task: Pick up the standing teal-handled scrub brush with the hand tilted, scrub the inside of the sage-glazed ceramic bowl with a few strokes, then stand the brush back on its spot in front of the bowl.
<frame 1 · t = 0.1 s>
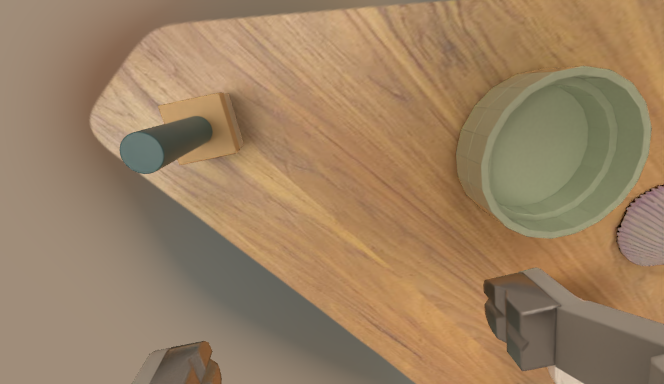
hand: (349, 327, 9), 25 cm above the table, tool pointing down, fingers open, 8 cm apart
cup: (540, 303, 41), on the table
seashell: (654, 224, 39), on the table
bowl: (523, 147, 35), on the table
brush: (211, 124, 32), on the table
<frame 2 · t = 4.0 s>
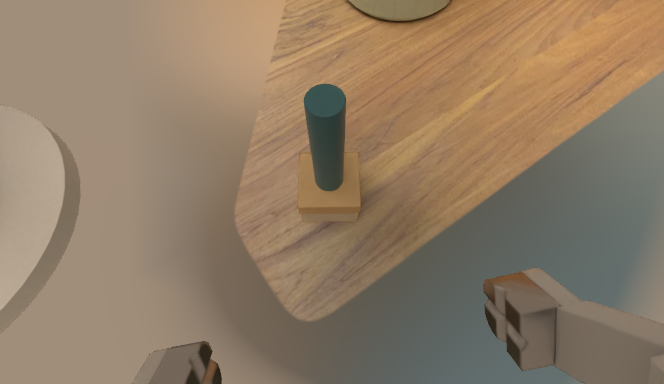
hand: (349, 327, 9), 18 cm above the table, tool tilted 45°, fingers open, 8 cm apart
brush: (330, 197, 31), on the table
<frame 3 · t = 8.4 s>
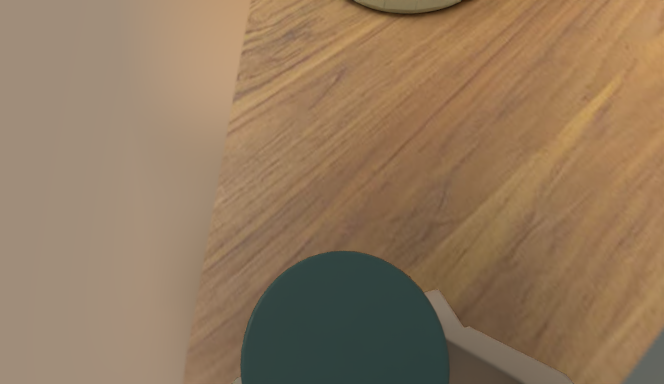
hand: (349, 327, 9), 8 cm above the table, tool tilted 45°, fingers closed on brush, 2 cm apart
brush: (359, 350, 16), on the table, touching gripper
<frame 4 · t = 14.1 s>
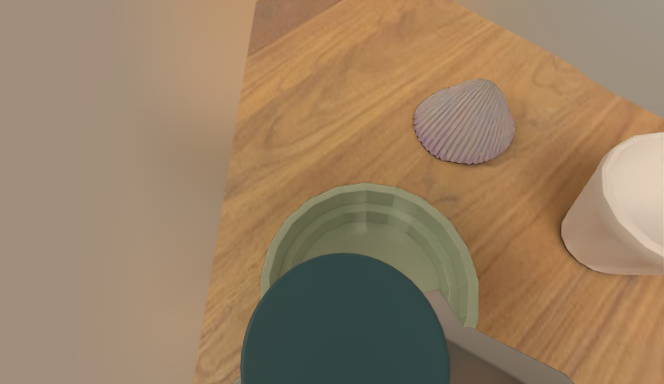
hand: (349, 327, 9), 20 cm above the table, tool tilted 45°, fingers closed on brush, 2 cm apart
cup: (595, 240, 29), on the table
seashell: (461, 127, 36), on the table
bowl: (365, 292, 29), on the table
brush: (359, 351, 16), point 12 cm above the table, touching gripper
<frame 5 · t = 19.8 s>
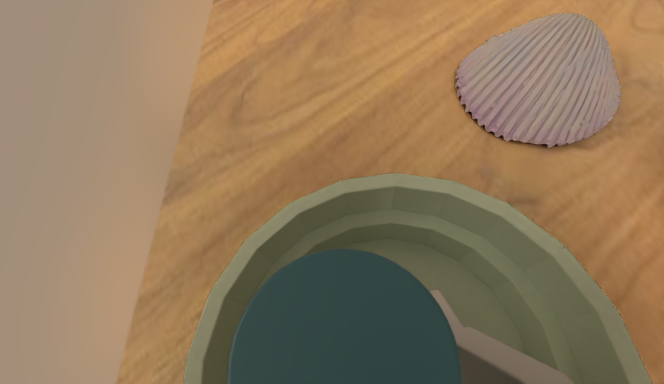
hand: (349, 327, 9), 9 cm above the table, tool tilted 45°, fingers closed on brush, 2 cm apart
seashell: (529, 91, 23), on the table
bowl: (390, 365, 16), on the table
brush: (360, 353, 16), point 1 cm above the table, touching gripper
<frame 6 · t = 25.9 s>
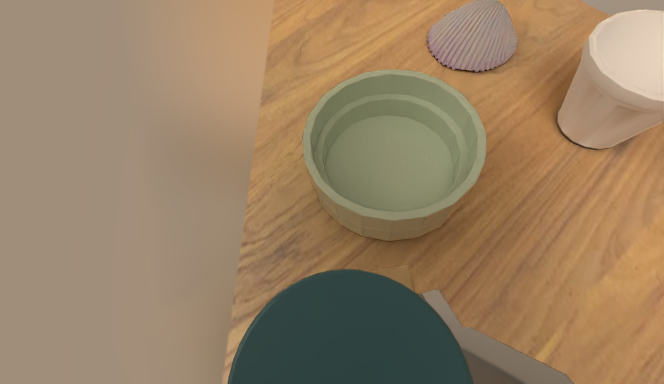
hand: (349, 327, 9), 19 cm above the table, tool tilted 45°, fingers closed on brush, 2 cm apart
cup: (587, 126, 33), on the table
seashell: (469, 44, 40), on the table
bowl: (387, 170, 33), on the table
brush: (357, 339, 16), point 12 cm above the table, touching gripper
when the fingers open (7 cm above the table, at t = 31.4 s): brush stays where it is, on the table.
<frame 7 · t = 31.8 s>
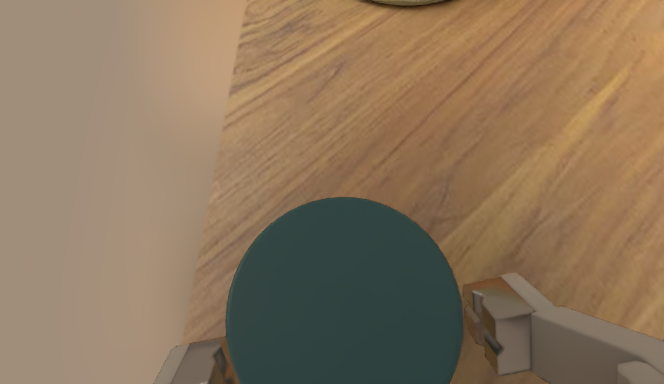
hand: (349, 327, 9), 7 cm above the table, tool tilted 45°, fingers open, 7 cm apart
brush: (359, 340, 16), on the table
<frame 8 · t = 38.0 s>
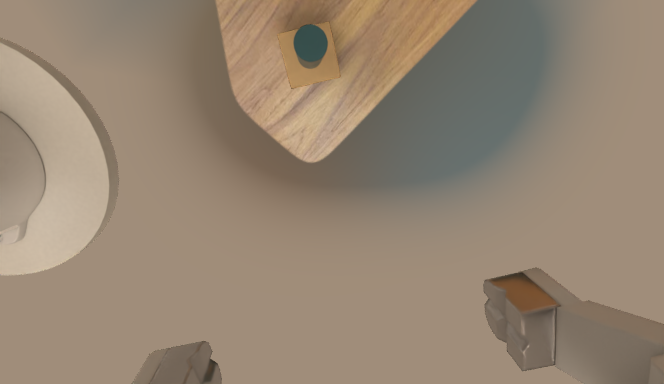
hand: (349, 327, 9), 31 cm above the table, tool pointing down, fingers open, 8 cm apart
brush: (309, 59, 36), on the table
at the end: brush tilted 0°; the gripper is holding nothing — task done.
